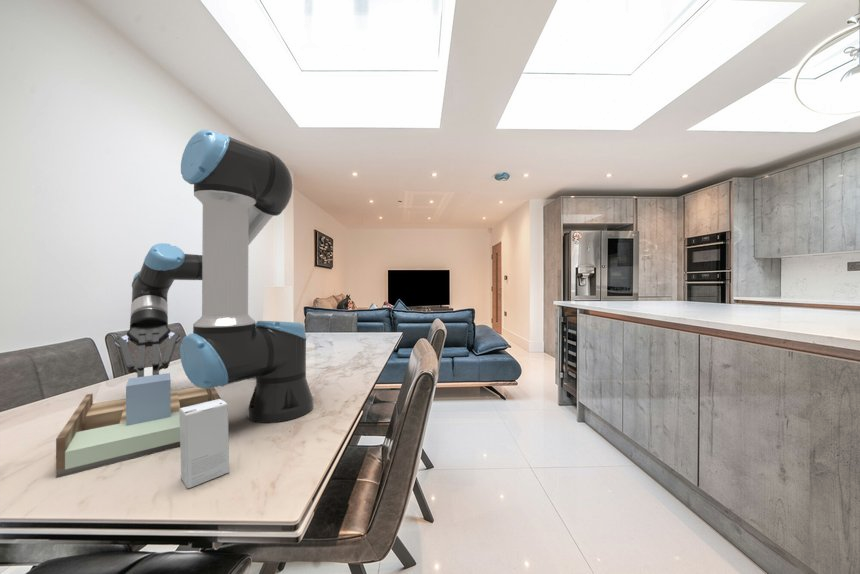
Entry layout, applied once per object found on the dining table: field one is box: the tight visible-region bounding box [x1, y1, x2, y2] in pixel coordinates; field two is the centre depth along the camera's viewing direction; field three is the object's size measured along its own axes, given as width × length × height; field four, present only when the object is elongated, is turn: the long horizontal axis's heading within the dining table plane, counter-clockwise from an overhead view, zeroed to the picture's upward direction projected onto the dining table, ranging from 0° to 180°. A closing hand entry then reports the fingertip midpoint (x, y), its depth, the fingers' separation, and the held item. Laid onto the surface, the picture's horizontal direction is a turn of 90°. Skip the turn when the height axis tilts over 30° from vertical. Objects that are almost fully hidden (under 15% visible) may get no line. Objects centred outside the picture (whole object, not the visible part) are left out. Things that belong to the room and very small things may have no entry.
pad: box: [65, 412, 180, 469], centre depth 66 cm, size 10×22×3 cm, turn 130°
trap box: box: [55, 386, 222, 479], centre depth 73 cm, size 30×24×6 cm
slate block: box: [125, 372, 172, 426], centre depth 70 cm, size 7×7×8 cm
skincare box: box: [179, 398, 230, 489], centre depth 54 cm, size 6×4×12 cm
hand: (148, 394), depth 73 cm, fingers closed
